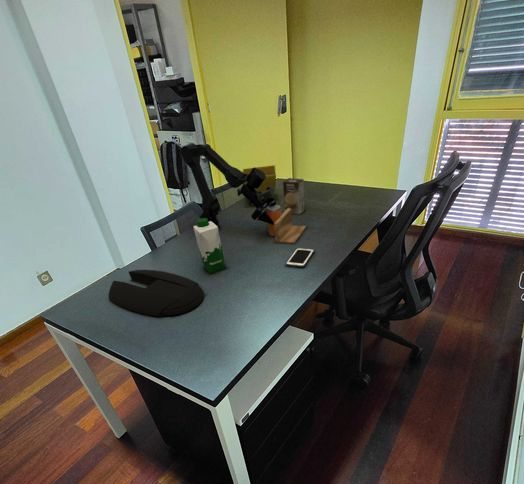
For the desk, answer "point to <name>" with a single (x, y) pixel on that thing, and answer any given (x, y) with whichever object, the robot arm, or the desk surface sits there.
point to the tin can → (273, 217)
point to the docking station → (157, 293)
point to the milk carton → (209, 245)
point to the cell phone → (300, 257)
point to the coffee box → (294, 195)
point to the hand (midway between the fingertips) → (277, 220)
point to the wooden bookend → (287, 229)
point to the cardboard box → (270, 177)
